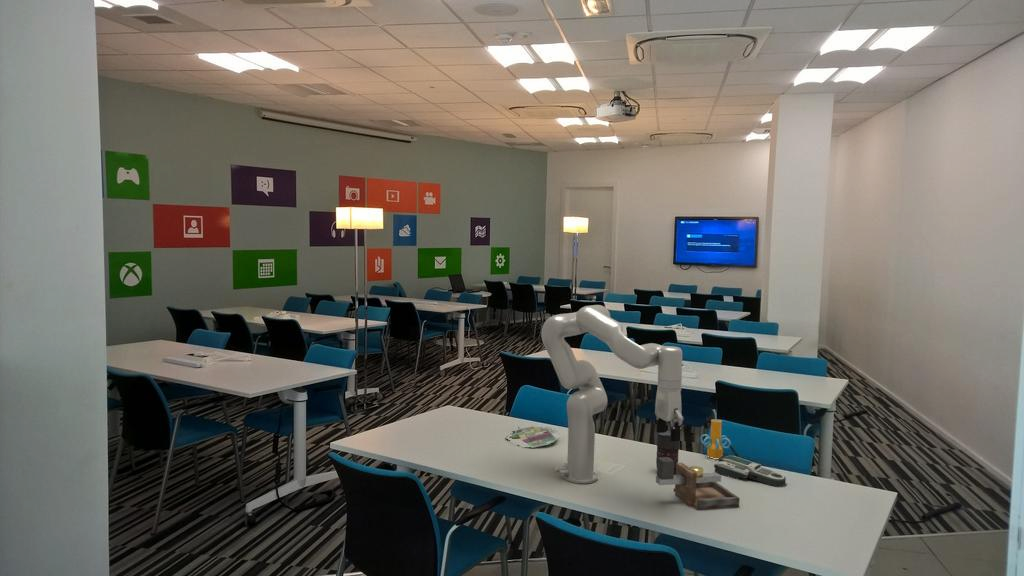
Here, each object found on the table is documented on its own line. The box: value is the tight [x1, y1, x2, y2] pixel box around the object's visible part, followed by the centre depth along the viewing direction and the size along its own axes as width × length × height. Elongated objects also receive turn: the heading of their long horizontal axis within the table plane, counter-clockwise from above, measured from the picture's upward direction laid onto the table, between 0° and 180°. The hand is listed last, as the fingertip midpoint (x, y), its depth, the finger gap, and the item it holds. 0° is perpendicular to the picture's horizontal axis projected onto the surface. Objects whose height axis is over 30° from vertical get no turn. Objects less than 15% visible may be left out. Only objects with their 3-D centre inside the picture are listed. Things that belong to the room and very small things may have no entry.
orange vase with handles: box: [700, 418, 732, 458], centre depth 255 cm, size 12×10×15 cm
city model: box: [506, 425, 560, 449], centre depth 271 cm, size 25×23×6 cm
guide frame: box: [673, 462, 740, 511], centre depth 211 cm, size 16×16×11 cm
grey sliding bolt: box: [655, 457, 722, 486], centre depth 210 cm, size 22×4×8 cm, turn 103°
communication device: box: [713, 444, 787, 487], centre depth 233 cm, size 12×24×9 cm, turn 48°
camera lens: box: [655, 430, 681, 475], centre depth 235 cm, size 8×8×15 cm
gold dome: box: [689, 465, 704, 478], centre depth 210 cm, size 4×4×2 cm
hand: (668, 436), depth 207 cm, fingers open, 9 cm apart
